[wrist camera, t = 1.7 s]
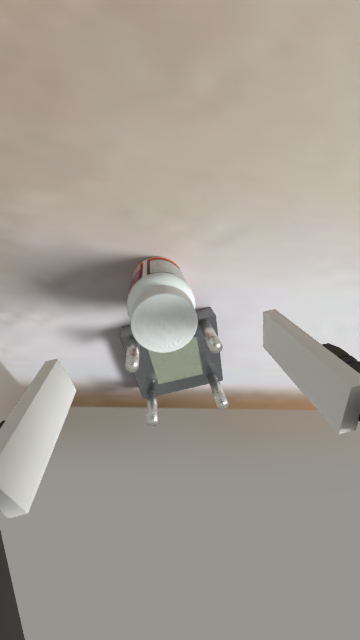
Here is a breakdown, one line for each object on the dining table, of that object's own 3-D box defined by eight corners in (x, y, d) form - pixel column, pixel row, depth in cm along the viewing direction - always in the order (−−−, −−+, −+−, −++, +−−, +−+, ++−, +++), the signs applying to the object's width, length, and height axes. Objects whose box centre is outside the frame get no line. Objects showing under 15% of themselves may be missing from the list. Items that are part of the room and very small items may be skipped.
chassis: (122, 326, 28) (114, 363, 22) (210, 307, 29) (229, 336, 22) (143, 386, 33) (142, 430, 27) (217, 369, 34) (234, 408, 27)
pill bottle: (146, 311, 28) (146, 369, 18) (122, 268, 25) (105, 309, 15) (190, 292, 27) (215, 341, 17) (171, 246, 24) (187, 272, 14)
